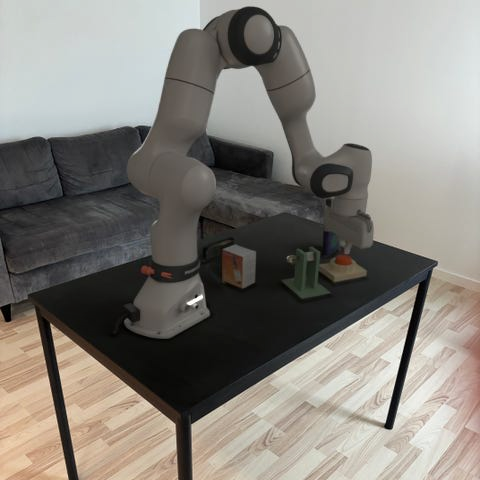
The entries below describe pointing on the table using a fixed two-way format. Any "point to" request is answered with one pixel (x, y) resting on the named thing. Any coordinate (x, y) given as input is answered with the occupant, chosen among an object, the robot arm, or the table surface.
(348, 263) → the button
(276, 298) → the table surface
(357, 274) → the button housing
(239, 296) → the table surface
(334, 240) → the flask
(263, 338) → the table surface
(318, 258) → the switch bracket
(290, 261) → the lever
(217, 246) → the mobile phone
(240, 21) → the robot arm
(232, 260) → the small box
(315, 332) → the table surface
